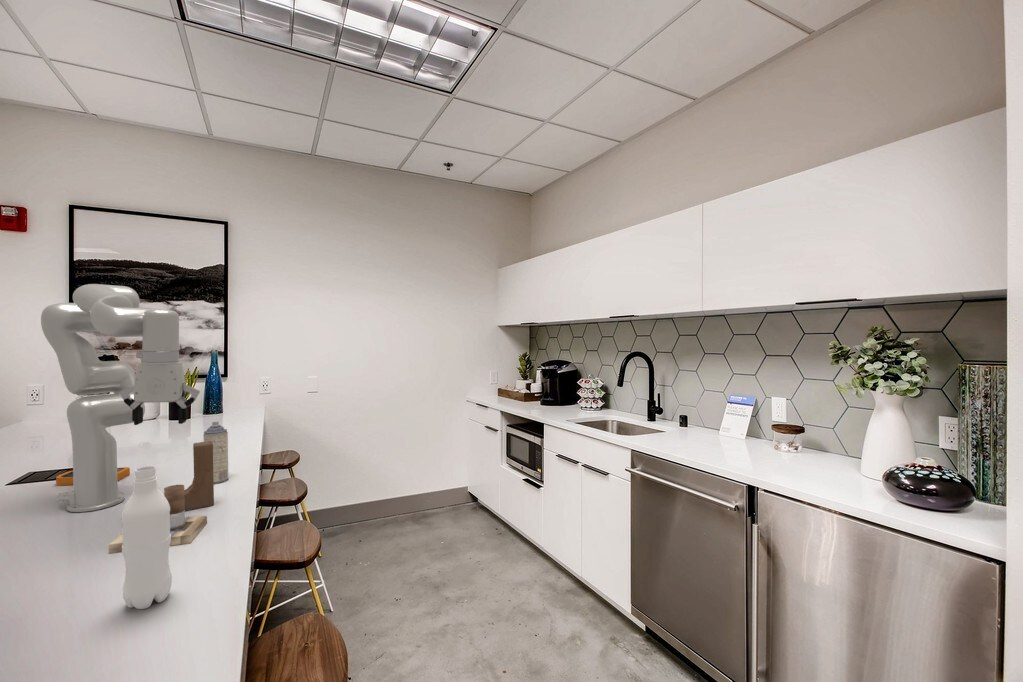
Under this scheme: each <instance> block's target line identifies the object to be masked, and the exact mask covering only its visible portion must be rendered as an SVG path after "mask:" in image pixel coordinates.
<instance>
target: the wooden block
mask: <svg viewBox="0 0 1023 682" xmlns="http://www.w3.org/2000/svg"><path fill="white" fill-rule="evenodd" d="M192 447H193V448H192V449H193V451H192V452H193V453H192V455H193V479H192V482H191V484H190V485H189V486H188V487H187V488H186V489H184V497H185V512H186V511H190V510H192V511H193V510H197V509H201V508H206V507H210V506H211V507H212V506H214V505H215V488H214V487H215V486H214V485H215V484H214V476H213V444H212V442H211V441H207V442H204V441H201V442H200V441H199V442H194V443H193V446H192Z"/></svg>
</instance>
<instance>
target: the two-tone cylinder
mask: <svg viewBox="0 0 1023 682" xmlns="http://www.w3.org/2000/svg"><path fill="white" fill-rule="evenodd" d="M184 490H185V485H184V484H174V485H168V486H166V487H165V488H164V489H163V495H164V496H165V498H166V499H167V501H168V503H169V505H170V532H172V531H176V532H179V531H185V517H186V511H185V497H184Z"/></svg>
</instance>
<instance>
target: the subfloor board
mask: <svg viewBox="0 0 1023 682" xmlns="http://www.w3.org/2000/svg"><path fill="white" fill-rule="evenodd" d="M207 524H208V515H201V516H191V517H190V516H185V531H179V532H176V531H172V532H170V534H171V542H170V546H169V547H172V546H179V545H180V546H181V545H186V544H191V543H192V542H193V541H194V540H195V538H196V537H197V536H198V535H199V534H200V532H201V531H202V530H203V529H204V527H206V525H207ZM122 544H123V533H122V532H121V533H120V534H119V535H117V537H116V538H114V539H113V540H112V541H111V542H110V543H108V545H107V546H108V548H107V549H108V554H113V553H122Z"/></svg>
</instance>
